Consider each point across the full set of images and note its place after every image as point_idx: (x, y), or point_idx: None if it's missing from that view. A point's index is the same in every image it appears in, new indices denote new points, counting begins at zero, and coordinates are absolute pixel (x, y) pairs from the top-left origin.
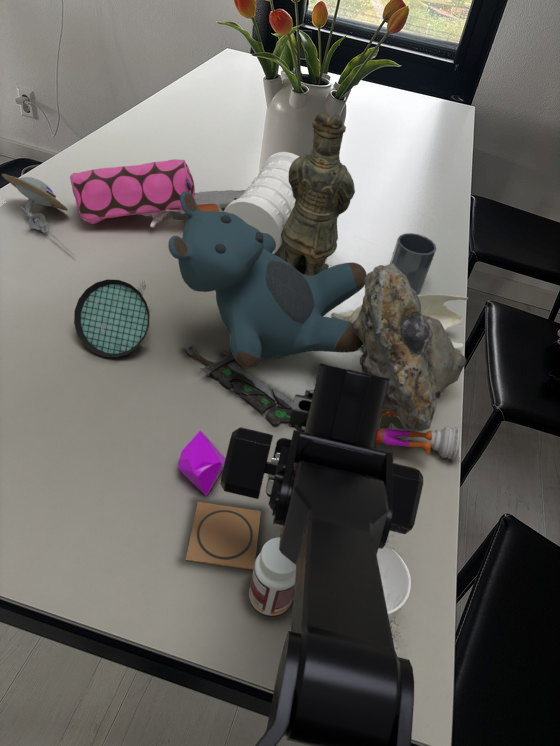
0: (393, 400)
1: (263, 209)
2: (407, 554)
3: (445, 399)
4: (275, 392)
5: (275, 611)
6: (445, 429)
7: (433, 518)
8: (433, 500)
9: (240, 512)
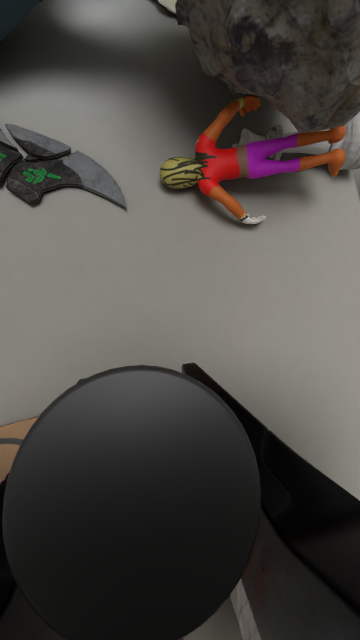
0: (283, 45)
1: None
2: (337, 380)
3: None
4: (12, 129)
5: None
6: None
7: (354, 291)
8: (344, 256)
9: (18, 432)
